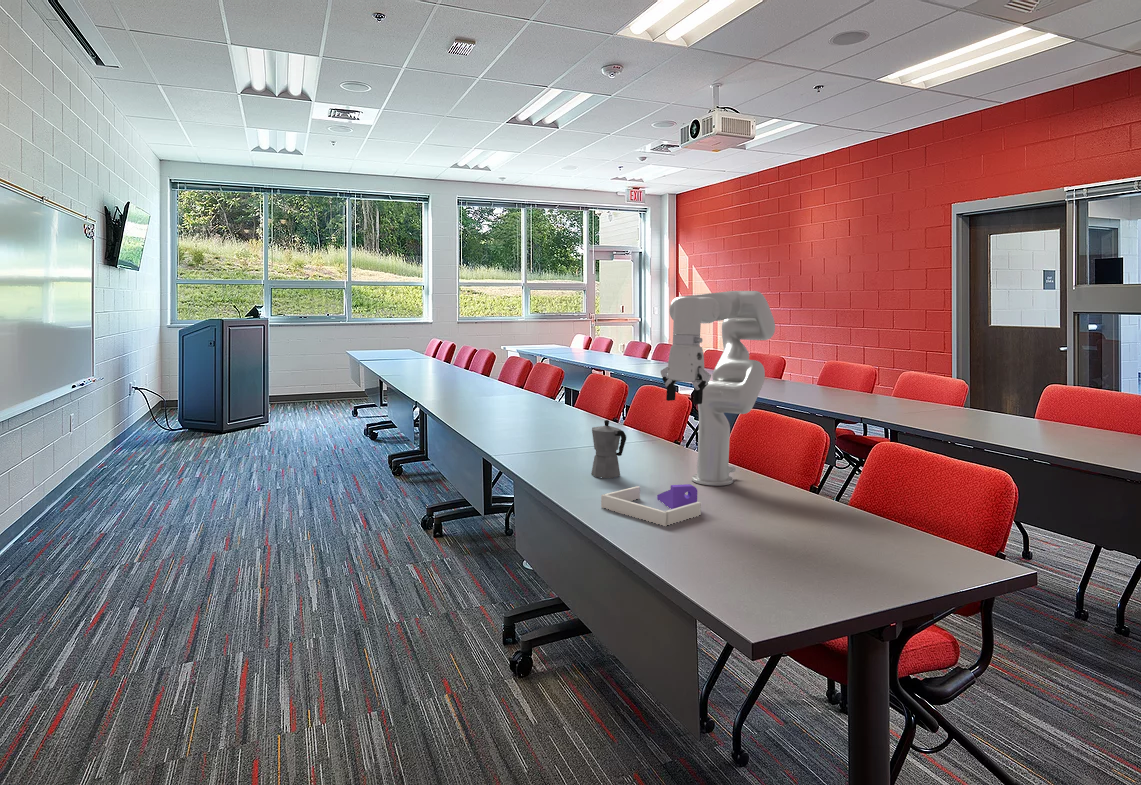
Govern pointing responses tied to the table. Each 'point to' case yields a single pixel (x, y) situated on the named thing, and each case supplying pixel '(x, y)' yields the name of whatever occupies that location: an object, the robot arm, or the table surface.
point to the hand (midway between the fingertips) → (683, 402)
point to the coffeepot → (607, 450)
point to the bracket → (678, 496)
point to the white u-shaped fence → (646, 507)
